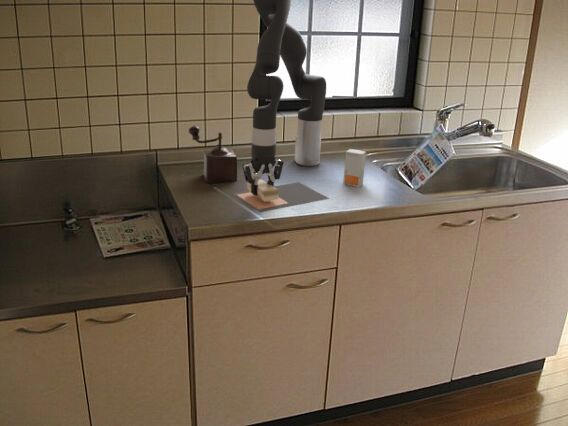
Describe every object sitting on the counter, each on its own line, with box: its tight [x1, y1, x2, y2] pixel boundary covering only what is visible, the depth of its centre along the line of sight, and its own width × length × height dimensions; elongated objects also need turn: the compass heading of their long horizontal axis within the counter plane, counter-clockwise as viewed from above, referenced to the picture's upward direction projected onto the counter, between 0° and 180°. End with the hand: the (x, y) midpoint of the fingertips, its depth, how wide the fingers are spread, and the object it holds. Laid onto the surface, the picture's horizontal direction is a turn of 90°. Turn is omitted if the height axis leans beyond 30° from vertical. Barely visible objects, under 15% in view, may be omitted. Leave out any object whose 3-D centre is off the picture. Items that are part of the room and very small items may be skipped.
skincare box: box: [342, 148, 367, 188], centre depth 209 cm, size 6×4×12 cm
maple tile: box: [246, 178, 279, 202], centre depth 191 cm, size 11×5×3 cm, turn 33°
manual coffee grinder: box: [188, 125, 238, 185], centre depth 208 cm, size 16×11×18 cm
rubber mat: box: [232, 181, 330, 213], centre depth 196 cm, size 18×26×1 cm
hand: (262, 193), depth 191 cm, fingers closed on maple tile, 4 cm apart
